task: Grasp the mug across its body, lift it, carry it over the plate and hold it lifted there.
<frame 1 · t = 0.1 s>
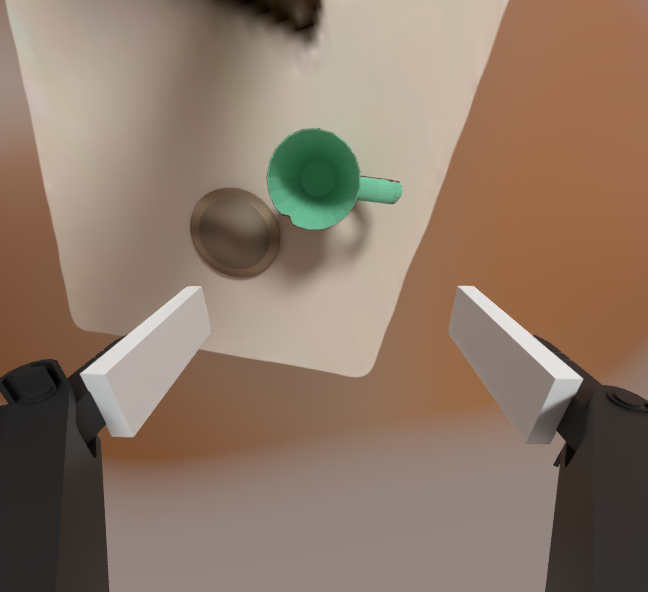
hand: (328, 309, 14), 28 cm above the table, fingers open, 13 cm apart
mug: (335, 181, 37), on the table
plate: (236, 234, 41), on the table
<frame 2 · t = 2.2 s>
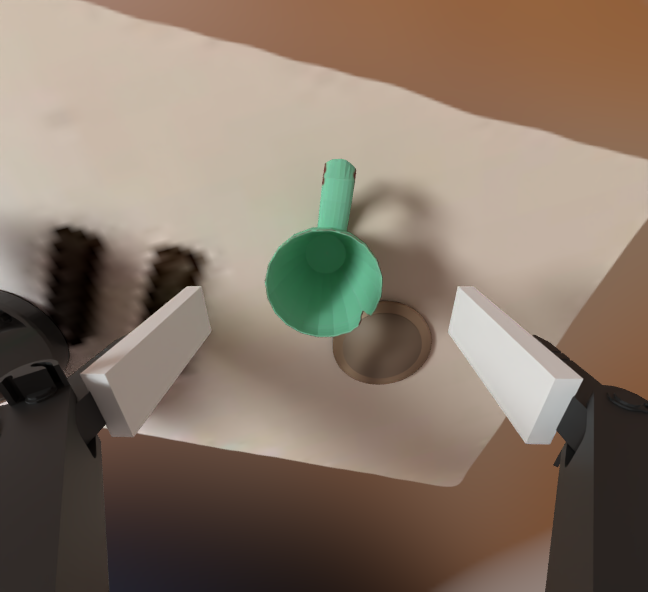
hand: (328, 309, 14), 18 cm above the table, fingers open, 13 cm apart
mug: (328, 232, 31), on the table
plate: (380, 343, 37), on the table
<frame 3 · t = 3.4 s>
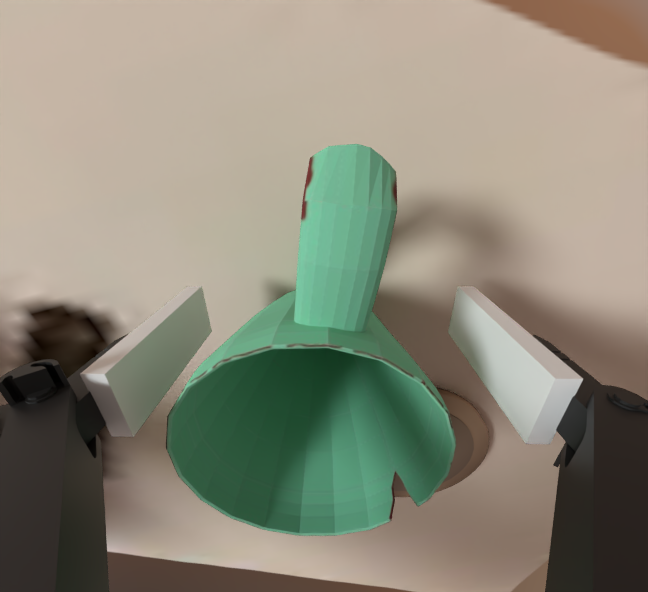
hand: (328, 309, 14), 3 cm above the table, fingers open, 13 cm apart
mug: (323, 283, 17), on the table
plate: (406, 443, 24), on the table
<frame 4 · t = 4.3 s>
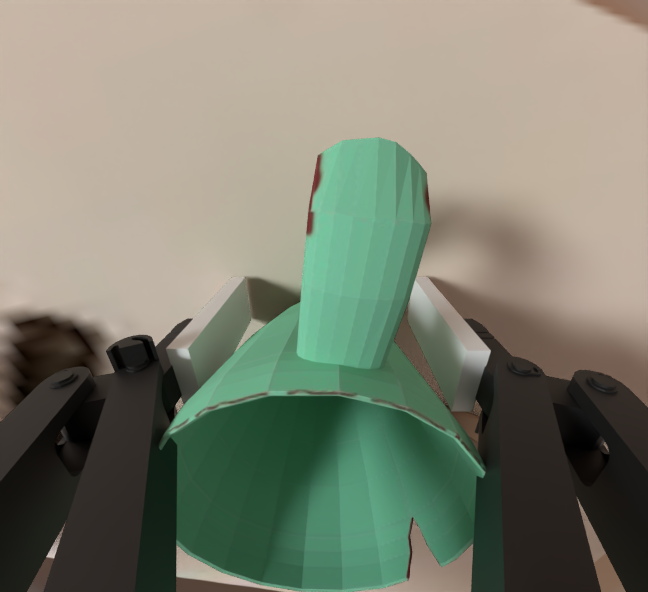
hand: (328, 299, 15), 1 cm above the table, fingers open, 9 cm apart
mug: (329, 294, 16), on the table, touching gripper
plate: (416, 463, 22), on the table
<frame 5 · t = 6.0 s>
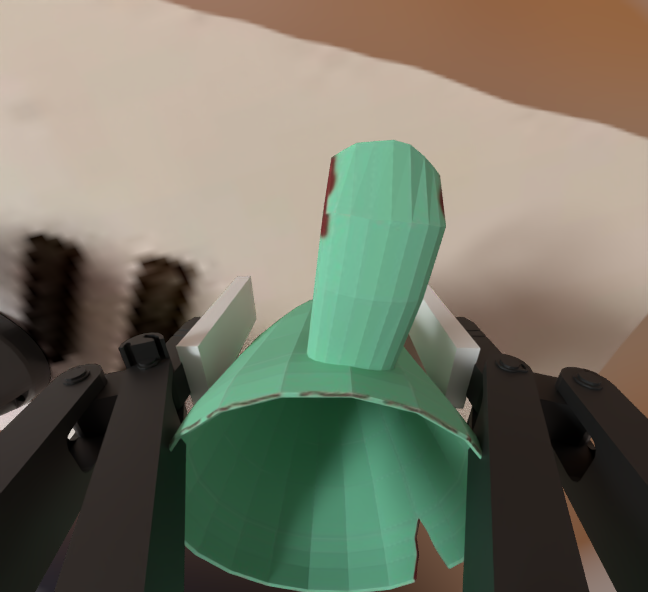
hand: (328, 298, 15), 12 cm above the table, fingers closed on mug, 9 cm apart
mug: (334, 294, 16), point 12 cm above the table, touching gripper
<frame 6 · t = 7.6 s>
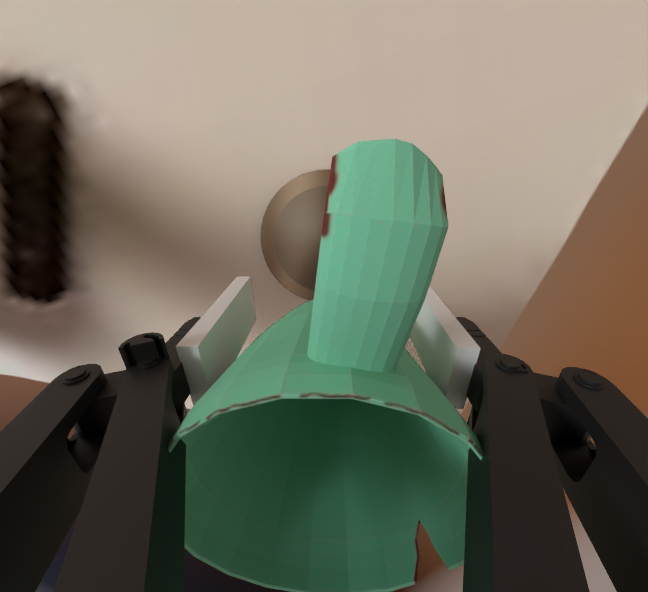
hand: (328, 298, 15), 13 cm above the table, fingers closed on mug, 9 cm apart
mug: (334, 294, 16), point 13 cm above the table, touching gripper
plate: (327, 241, 27), on the table
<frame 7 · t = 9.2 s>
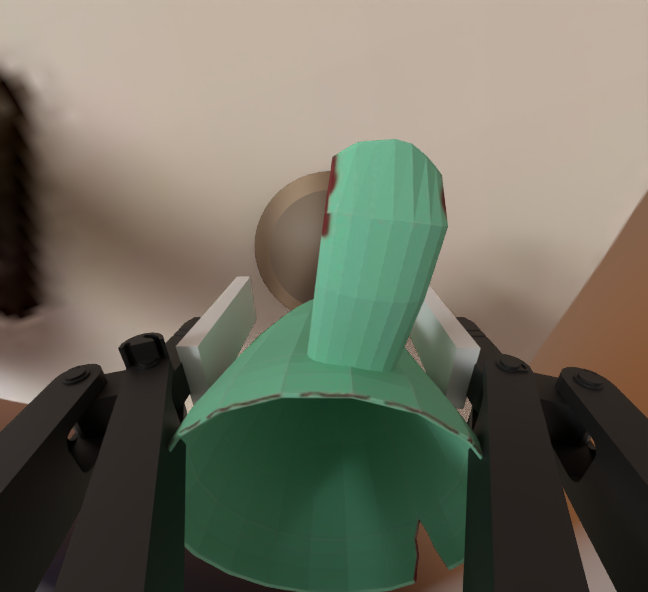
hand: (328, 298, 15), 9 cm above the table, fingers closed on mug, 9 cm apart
mug: (334, 294, 16), point 9 cm above the table, touching gripper
plate: (330, 252, 24), on the table
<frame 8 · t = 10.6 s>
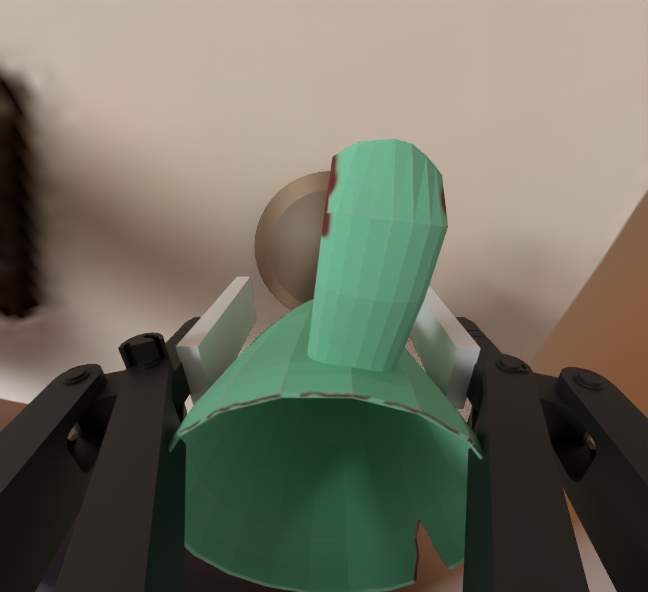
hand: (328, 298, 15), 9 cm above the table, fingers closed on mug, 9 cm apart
mug: (334, 294, 16), point 9 cm above the table, touching gripper
plate: (330, 252, 24), on the table
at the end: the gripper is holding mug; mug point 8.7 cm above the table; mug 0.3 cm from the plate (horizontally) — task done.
